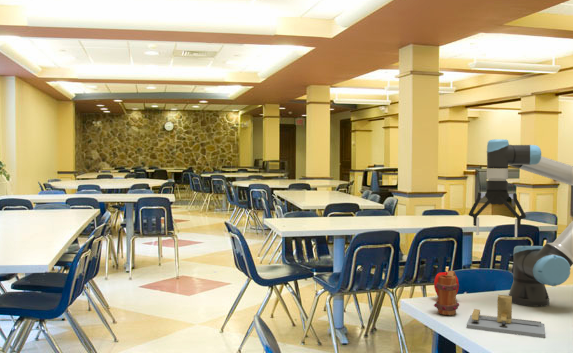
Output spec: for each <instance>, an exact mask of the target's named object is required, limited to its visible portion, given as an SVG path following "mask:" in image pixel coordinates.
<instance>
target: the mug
mask: <svg viewBox="0 0 573 353" xmlns="http://www.w3.org/2000/svg"><path fill="white" fill-rule="evenodd" d="M447 272H448V274H447V275H441V276H440V275H439V276H438V282H437V284H436V285H435V287H436V288H438V295H437V301H436V302H435V303H434V305H433V306H434V308H436V309H437V313H438V314H440V315H443V316H454V315H456V313H457V309H459V308H458V307H460V303H458V302H457V295H456V289H457V288H458V286H459V287H460V284H459V285H458V284H457V283H456V276H457V275H456V272H455V271H454V270H448V271H447Z"/></svg>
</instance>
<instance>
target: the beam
mask: <svg viewBox="0 0 573 353" xmlns="http://www.w3.org/2000/svg"><path fill="white" fill-rule="evenodd" d="M471 315H472V319H473V320H474V323H477V320H478V319H479V318H480V319H489V320H497V316H494V315H493V316H492V315H488V314H487V315H485V314H481V310H480V309H477V308H474V309H473V311H472V313H471ZM511 322H514V323H522V324H531V325H539V327H541V323H542V321H536V320H528V319H521V318H520V319H519V318H513V317H512V318H511Z"/></svg>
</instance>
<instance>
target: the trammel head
mask: <svg viewBox="0 0 573 353" xmlns="http://www.w3.org/2000/svg"><path fill="white" fill-rule="evenodd" d="M496 308H497V311H496V312H497V316H496V317H497V322H502V325H503V326H505V323H510V324H511V318H512V319H513V316H512V314H513V310H512V309H513V303H512V296H509V295H505V294H498V295H497V306H496Z"/></svg>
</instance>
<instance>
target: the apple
mask: <svg viewBox="0 0 573 353" xmlns="http://www.w3.org/2000/svg"><path fill="white" fill-rule="evenodd" d="M447 274H448V271H445V272H443V271H442V272H438V273H437V274H436V275H435V277H434V280H433V281H434V282H433V285H434V286H433V287H434V288H433V289H434V291H435V293H436V295H437V296H438V288H436V287H435V285H436V284H437V282H438V276H439V275H440V276H441V275H447ZM456 283H457V284H458V285H459V286H458V288H457V289H456V296H457V294H458V292H459V289H460V288H459V287H460V284H459V278H458V277H457V275H456Z"/></svg>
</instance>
